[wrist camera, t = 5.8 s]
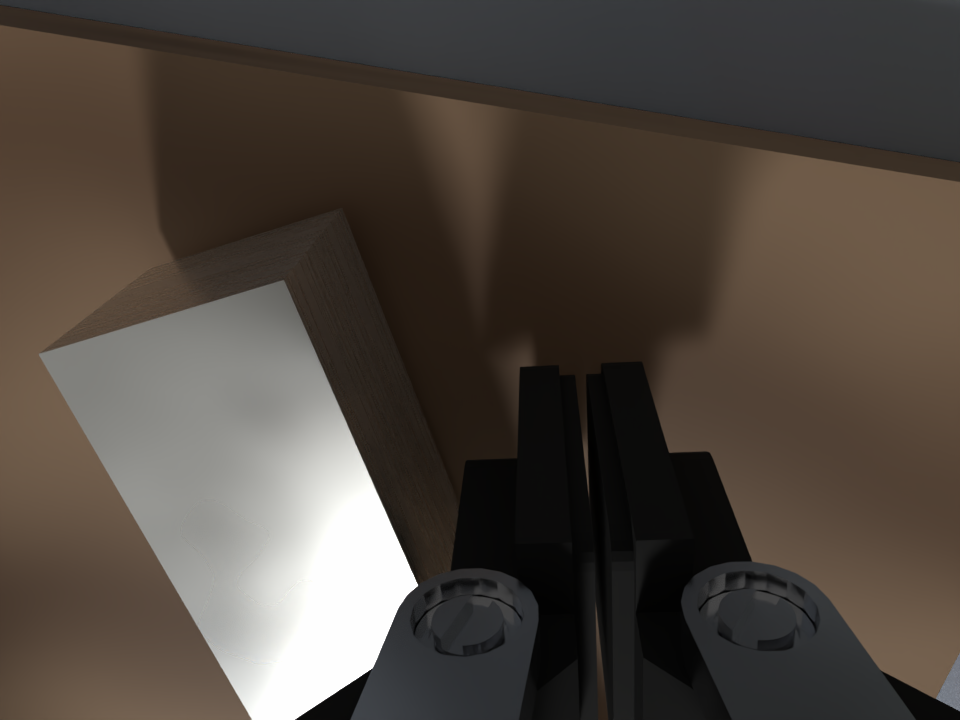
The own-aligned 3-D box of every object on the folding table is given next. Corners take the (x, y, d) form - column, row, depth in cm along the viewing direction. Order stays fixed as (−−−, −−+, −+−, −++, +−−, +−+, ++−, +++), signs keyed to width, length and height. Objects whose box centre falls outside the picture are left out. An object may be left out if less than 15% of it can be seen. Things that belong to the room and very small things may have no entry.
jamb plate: (724, 970, 21) (743, 1065, 19) (-73, 851, 20) (-131, 937, 19) (1089, 183, 12) (1186, 219, 11) (-254, -37, 12) (-391, -39, 10)
